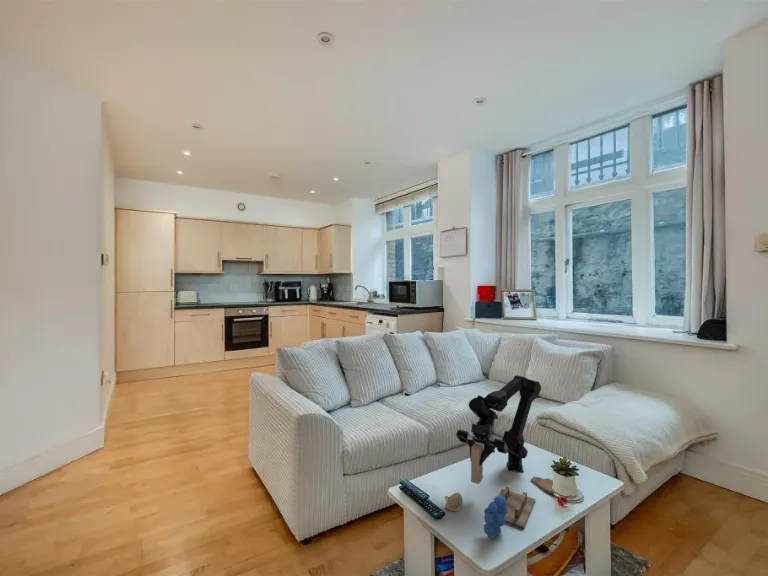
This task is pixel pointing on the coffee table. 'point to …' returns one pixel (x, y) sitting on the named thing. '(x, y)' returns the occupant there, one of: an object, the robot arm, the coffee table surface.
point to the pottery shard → (543, 484)
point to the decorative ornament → (454, 502)
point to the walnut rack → (517, 507)
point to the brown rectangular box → (476, 463)
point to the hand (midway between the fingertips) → (475, 463)
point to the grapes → (495, 516)
